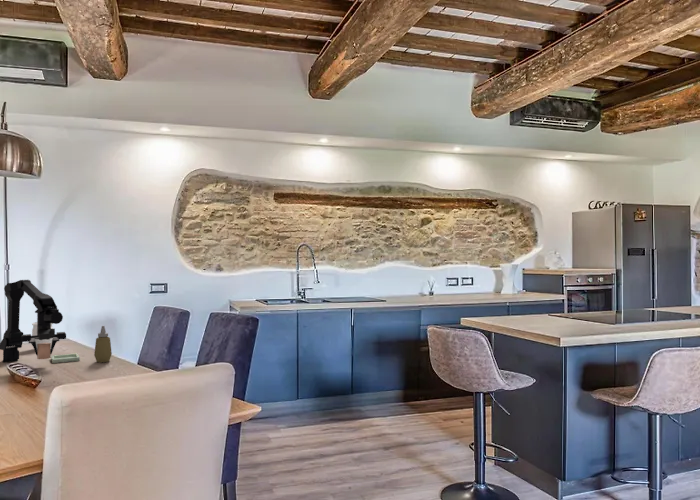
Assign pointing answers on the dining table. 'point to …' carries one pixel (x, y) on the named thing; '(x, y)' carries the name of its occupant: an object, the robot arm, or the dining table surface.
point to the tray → (65, 358)
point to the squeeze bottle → (103, 347)
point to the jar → (34, 333)
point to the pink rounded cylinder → (43, 350)
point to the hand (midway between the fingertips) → (43, 354)
